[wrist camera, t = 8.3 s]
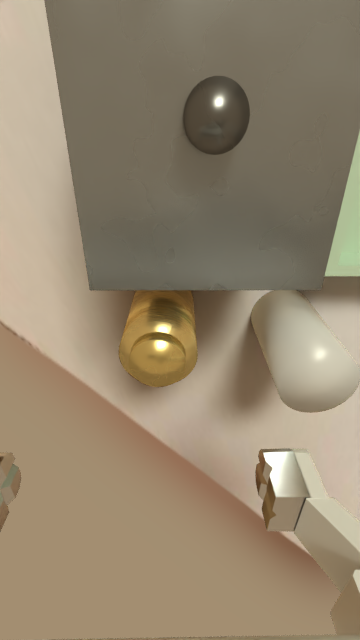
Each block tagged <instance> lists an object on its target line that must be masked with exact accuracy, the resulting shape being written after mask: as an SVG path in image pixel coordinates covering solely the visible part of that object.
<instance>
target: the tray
mask: <svg viewBox="0 0 360 640" xmlns="http://www.w3.org/2000/svg"><path fill="white" fill-rule="evenodd" d="M325 276H360V131H359V135H358V139H357V144H356V148H355V152H354V156H353V160H352V164H351V168H350V173H349V177H348V181H347V185H346V189H345V193H344V197H343V201H342V206H341V210H340V214H339V218H338V222H337V226H336V230H335V235H334V239H333V243H332V247H331V251H330V255H329V259H328V263H327V268H326V272H325Z"/></svg>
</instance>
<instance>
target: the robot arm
mask: <svg viewBox="0 0 360 640" xmlns="http://www.w3.org/2000/svg"><path fill="white" fill-rule="evenodd" d="M258 457H259V461H260V463H258V464H257V465H256V485H257V490H258V495H259V496H260V497H261V498H262V499H263V500H264V501H263V506H262V512H263V516H264V521H265V525H266V529H267V531H294V534H295V535H296V536H297V537H298V539H299V540H300V541H301V543H302V544H303V545H304V546H305V548H306V549H307V550H308V551H309V553H310V554H311V555H312V557H313V558H314V559H315V560H316V562H317V563H318V564H319V565H320V567H321V568H322V569H323V570H324V572H325V573H326V574H327V576H328V577H329V578H330V580H331V581H332V582H333V583H334V585H335V586H336V587H337V588H338V590H339V591H340V592H341V594H340V596H339V598H338V599H337V601H336V602H335V604H334V606H333V608H332V609H331V612H330V615H331V617H332V621H333V624H334V627H335V631H336V634H337V635H283V636H230V637H229V636H228V637H227V636H225V637H173V638H172V637H167V638H117V639H116V638H115V639H114V638H111V639H57V640H360V521H359V520H358V519H357V518H355V517H354V516H353V515H352V514H351V513H350V512H349V511H348V510H347V509H346V508H344V507H343V506H342V505H341V504H340V503H339V502H338V501H337V500H336V499H335V498H329V497H328V494H327V492H326V490H325V487H324V485H323V483H322V480H321V478H320V476H319V474H318V471H317V469H316V467H315V464H314V462H313V460H312V457H311V455H310V453H309V451H308V450H307V449H261V450H260V451H259V455H258ZM14 460H15V458H14V456H13V453H8V452H5V453H4V452H0V531H1V529H2V527H3V525H4V522H5V520H6V518H7V515H8V513H9V510H8V506H7V505H8V504H9V503H10V502H11V501H13V500H14V499H15V498H16V495H17V493H18V490H19V487H20V482H21V472H20V470H19V468H18V467H17V466H16V465H14V464H13V462H14ZM54 640H55V639H54Z"/></svg>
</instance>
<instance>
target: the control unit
mask: <svg viewBox="0 0 360 640" xmlns="http://www.w3.org/2000/svg"><path fill="white" fill-rule="evenodd" d="M45 7H46V13H47V19H48V26H49V32H50V38H51V45H52V51H53V58H54V64H55V70H56V77H57V83H58V89H59V96H60V102H61V109H62V115H63V121H64V128H65V134H66V140H67V147H68V153H69V159H70V166H71V172H72V179H73V185H74V191H75V198H76V204H77V210H78V217H79V223H80V230H81V236H82V242H83V249H84V255H85V261H86V268H87V274H88V281H89V287H90V290H321V288H322V284H323V280H324V276H325V272H326V268H327V263H328V259H329V255H330V251H331V247H332V243H333V239H334V235H335V230H336V226H337V222H338V218H339V214H340V210H341V206H342V201H343V197H344V193H345V189H346V185H347V181H348V177H349V173H350V168H351V164H352V160H353V156H354V152H355V148H356V144H357V139H358V135H359V131H360V0H45Z"/></svg>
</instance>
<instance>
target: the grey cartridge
mask: <svg viewBox="0 0 360 640" xmlns="http://www.w3.org/2000/svg"><path fill="white" fill-rule="evenodd" d="M251 322H252V326H253V328H254V331H255V333H256V336H257V339H258V341H259V344H260V346H261V349H262V352H263V354H264V357H265V359H266V362H267V365H268V367H269V370H270V372H271V375H272V378H273V380H274V383H275V385H276V388H277V391H278V393H279V396H280V398H281V400H282V401H283V402H284V403H285V404H286V405H287V406H288V407H290V408H292V409H294V410H297V411H301V412H310V413H312V412H321V411H326V410H329V409H332V408H334V407H336V406H338V405H340V404H342V403H343V402H345V401H346V400H347V399H348V398H349V397H350V396H351V395H352V394H353V393H354V392H355V390H356V389H357V387H358V385H359V382H360V368H359V366H358V364H357V362H356V361H355V360H354V359H353V357H352V356H351V355H350V353H349V352H348V351H347V350H346V348H345V347H344V346H343V345H342V343H341V342H340V341H339V339H338V338H337V337H336V336H335V334H334V333H333V332H332V331H331V329H330V328H329V327H328V325H327V324H326V323H325V322H324V320H323V319H322V318H321V317H320V315H319V314H318V313H317V311H316V310H315V309H314V308H313V306H312V305H311V304H310V302H309V301H308V300H307V299H306V297H305V296H304V295H303V294H301V293H300V292H298V291H296V290H273V291H271V292H269V293H267V294H265V295H264V296H262V297H261V298H260V299H259V300H258V301H257V302H256V304H255V305H254V307H253V310H252V313H251Z"/></svg>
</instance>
